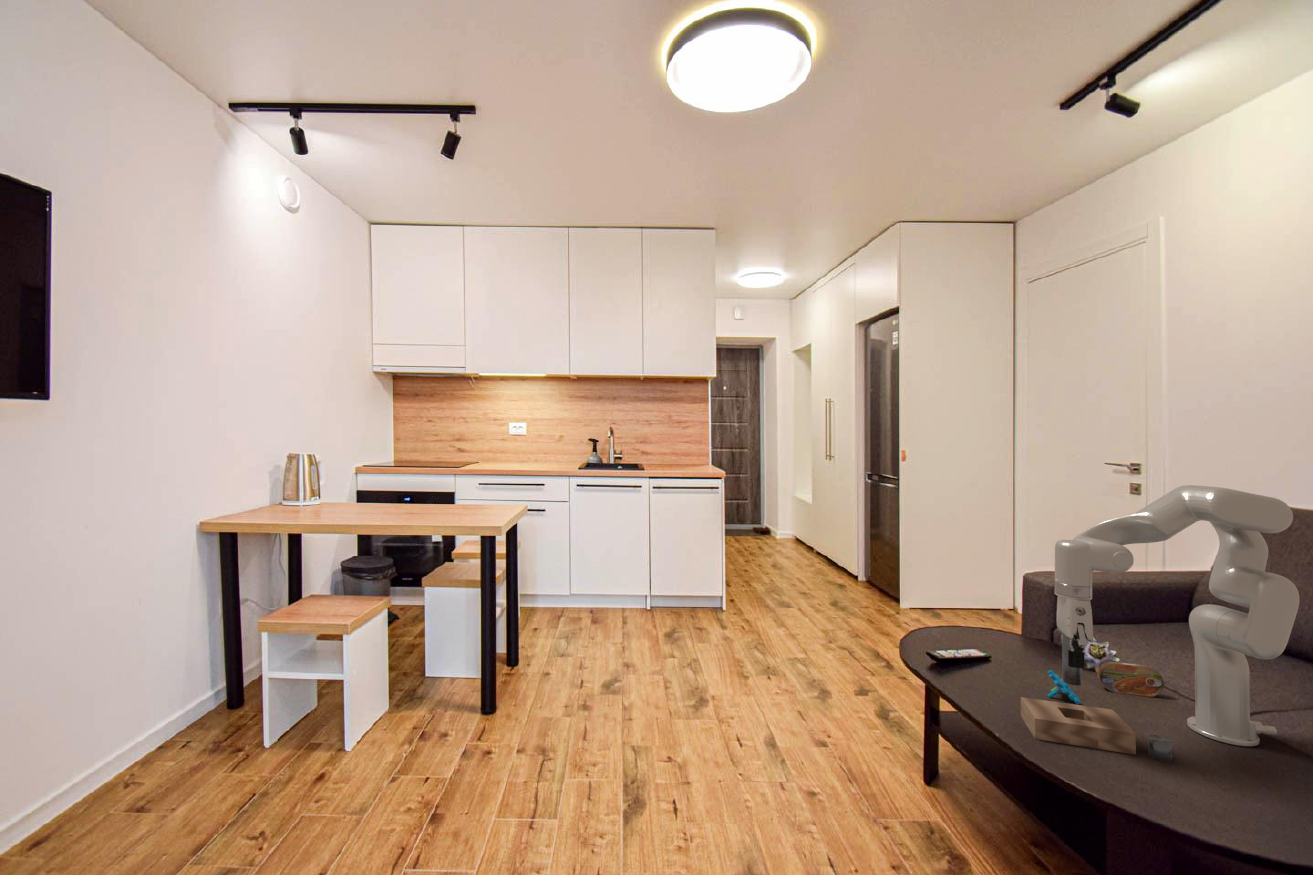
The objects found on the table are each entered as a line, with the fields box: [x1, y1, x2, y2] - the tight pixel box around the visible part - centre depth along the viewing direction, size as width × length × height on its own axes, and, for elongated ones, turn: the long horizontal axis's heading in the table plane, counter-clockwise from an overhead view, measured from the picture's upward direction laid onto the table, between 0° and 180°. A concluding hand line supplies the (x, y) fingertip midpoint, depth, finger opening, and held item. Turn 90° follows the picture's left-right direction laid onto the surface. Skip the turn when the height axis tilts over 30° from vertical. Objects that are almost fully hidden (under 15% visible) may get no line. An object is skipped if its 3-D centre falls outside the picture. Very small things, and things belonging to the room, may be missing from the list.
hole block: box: [1020, 696, 1137, 755], centre depth 136 cm, size 20×12×5 cm, turn 70°
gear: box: [1047, 669, 1082, 705], centre depth 155 cm, size 11×6×10 cm
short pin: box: [1148, 734, 1173, 763], centre depth 126 cm, size 4×4×4 cm
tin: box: [1096, 661, 1165, 698], centre depth 159 cm, size 15×3×8 cm, turn 68°
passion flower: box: [1084, 636, 1121, 673], centre depth 177 cm, size 11×11×12 cm
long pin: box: [1061, 631, 1083, 686], centre depth 136 cm, size 4×4×14 cm
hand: (1072, 662), depth 136 cm, fingers closed on long pin, 4 cm apart
